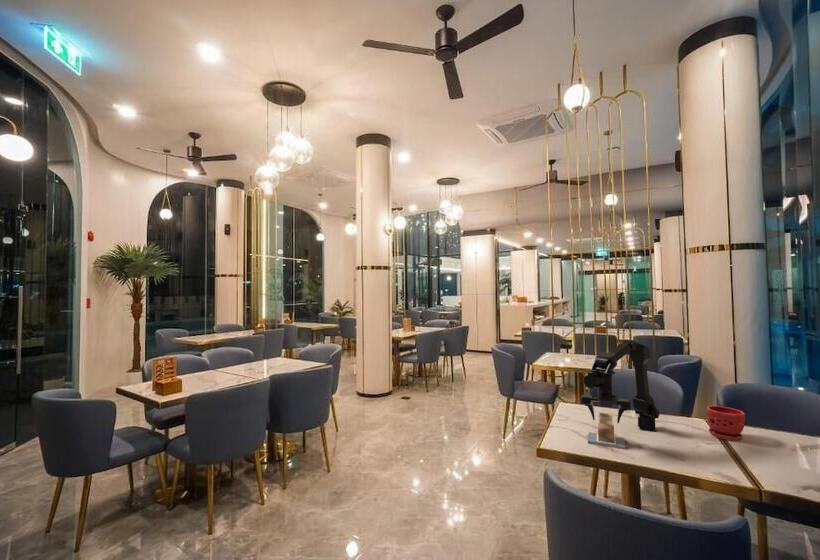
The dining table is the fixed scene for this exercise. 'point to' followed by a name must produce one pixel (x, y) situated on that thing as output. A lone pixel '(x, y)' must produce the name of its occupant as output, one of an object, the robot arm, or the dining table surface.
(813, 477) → the dining table surface
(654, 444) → the dining table surface
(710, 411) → the plant pot
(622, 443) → the base board
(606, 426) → the maple cube
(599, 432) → the walnut block
